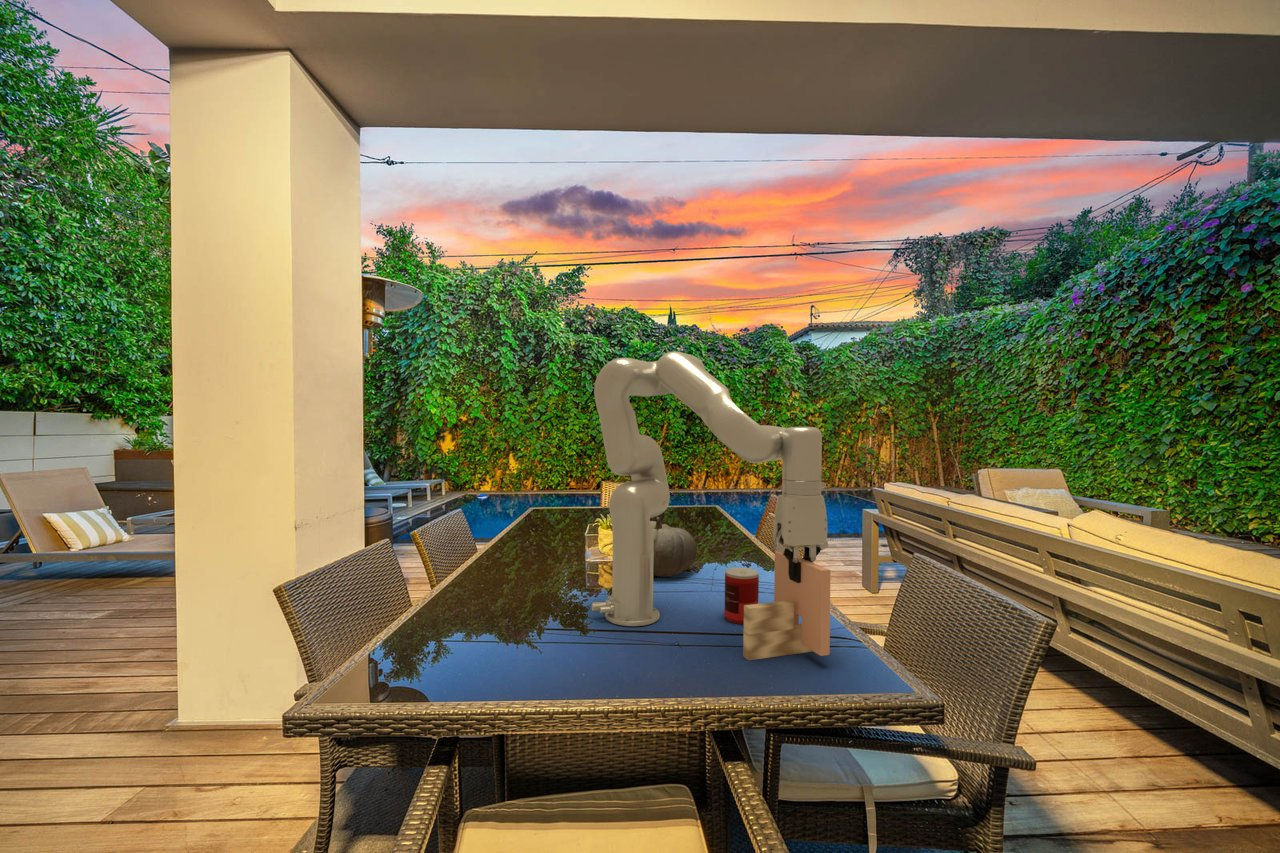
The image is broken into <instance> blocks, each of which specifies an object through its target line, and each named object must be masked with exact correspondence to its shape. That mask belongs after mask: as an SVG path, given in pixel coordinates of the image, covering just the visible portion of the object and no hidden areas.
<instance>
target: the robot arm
mask: <svg viewBox="0 0 1280 853" xmlns="http://www.w3.org/2000/svg"><path fill="white" fill-rule="evenodd" d="M593 389H594V390H593V394H594V401H595V405H596V411H597V413H598V417H599V421H600V428H601V434H602V435H601V436H602V439H603V440H602V441H603V445H604V450H605V456H606V462H607V466H608V467H609V470H610V471H611V472H612V473H613V474H615V475H618V476H621V477H622V476H623V477H625V476H631V477H630V478H631V481H626V482H623V483H622V484H619V485H618V486H617V487H616V488H614V490H613V491H612V493H611V495H610V498H609V503H608V504H609V505H608V507H609V514H610V521H611V528H612V574H611V575H612V579H611V580H612V585H611V589H612V591H611V592H612V593H611V595H609V596H608V599H606V600H604V601H601V602H600V601H596V602H595V601H594V602H591V611H592V612H598V611H599V613H600V614H604V616H605V619H606V621H608V622H609V623H612V624H614V625H619V626H625V627H640V626H641V627H642V626H648V625H652V624H654V623H656V622H657V621H658V620H659V619H660V611H659V610H658V608H656V607H654V575H653V559H654V541H653V532H652V528H651V524H650V521H651V519H653V518H655V517H656V518H657V517H659V516H660V515H662V514H663V513H664V512H665V511H666V510H667V508H668V507H669V505H670V499H671V497H670V496H671V495H670V487H669V486H670V485H669V483H668V477H667V471H666V467H665V461H664V456H663V453H662V450H661V448H660V445H659V443H658V442H657V441H656V440H655V439H654V438H652V437H651V436H648V435H645V434H640V431H639V427H638V421H637V420H638V419H637V416H636V412H635V410H634V408H633V406H632V404H631V402H630V399H629V397H630V396H635V397H657V396H663V395H665V396H666V395H673V396H674V397H676V398H677V399H678V400H680V401H681V402H682V403H683V404H685V406H686V407H688V408H689V409H690V410H692V411H693V412H694V413H695V414H696V415H698V417H700V418H701V420H702V421H703V423H704V424H705V426H707V428H708V429H709V430H710V431H711V433H712V434H713V435H714V436H715V437H716V438H717V439H718V440H719V441H720V442H721V443H722V444H723V445H725V446H726V447H727V448H728V449H729V450H731V451H732V452H734V453H735V454H736V455H737V456H738V457H740V458H741V459H742V460H744V461H746V462H749V463H752V464H763V463H768V462H772V461H782V463H781V464H782V466H781V467H782V469H781V470H782V475H781V478H782V479H781V480H782V482H781V483H782V484H781V485H782V486H781V494H778V496H777V500H776V503H775V507H774V508H775V510H774V515H773V516H774V517H773V528H772V530H773V532H772V538H773V542H774V543H773V546H772V549H773V550H774V551H778V552H780V553H782V554H783V555H784V556H785V557H786V559H787V560H789V573H788V574H789V579H790V580H792V581H794V582H796V583H800V582H801V563H800V562H798V561H799V557H800V548H801V547H802V557H801V558H802V559H805V560H807V561H810V562H812V563H814V562H816V561H817V557H818V555H819V554H820V553H821V551H824V550H825V549H827V548H829V542H828V539H827V538H828V517H827V516H828V514H827V506H826V500H825V498H824V495H822V490H823V489H825V488H826V482H824V481H823V482H822V462H823V461H822V460H823V459H822V458H823V457H822V454H823V452H822V451H823V450H822V449H823V448H822V446H823V436H822V431H821V430H820V428H818V427H815V426H790V427H782V426H775V425H768V424H767V425H763V424H761V425H760V424H759V423H758V422H756V421H755V419H752V418H751V417H750V416H749V415H747V413H745V411H743V410H742V409H740V407H739V406H737V405H736V403H735V402H734V401H733V400H732V398H731V394H730V391H729V389H728V386H726V385H725V384H724V383H722V382H721V381H719V380H718V379H717V378H716V377H714V376H713V375H712V374H711V373H709V372H708V371H707V370H706V367H705V364H704V363H703V362H702V361H701V359H699V358H698V357H696V356H695V355H693V354H688V353H685V352H682V351H669V352H666V353H664V354H662V356H660V358H659V359H658V360H655V361H645V360H640V359H637V358H636V359H635V358H631V357H618V358H615V359H612V360H610V361H609V362H607V363H606V364H605V365H604V366H603V367H602V368H601V369H600V370H599V372H598V374H597V376H596V379H595V382H594V388H593ZM784 546H785V547H784Z"/></svg>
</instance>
